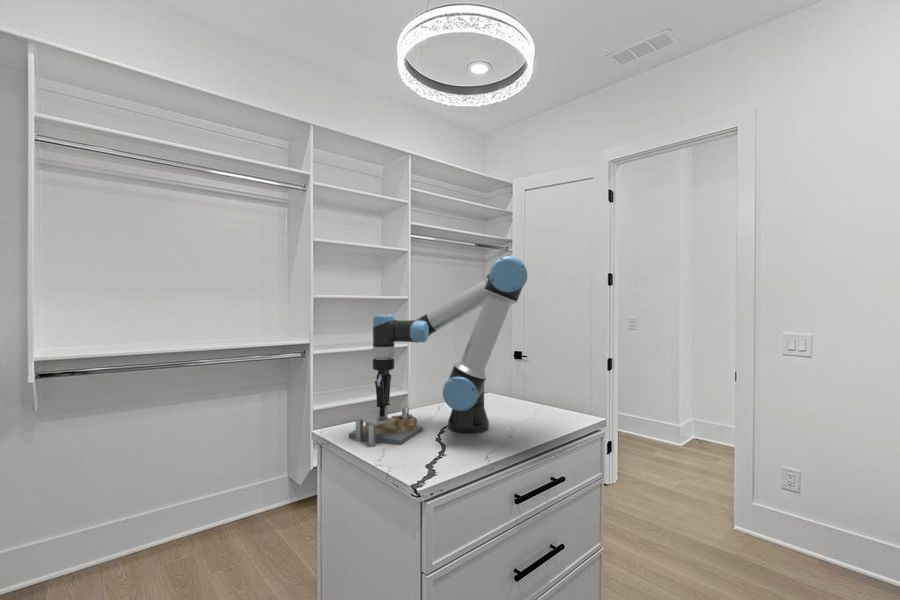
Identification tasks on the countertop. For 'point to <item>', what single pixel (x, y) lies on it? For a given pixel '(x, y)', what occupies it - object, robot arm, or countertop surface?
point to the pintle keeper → (374, 424)
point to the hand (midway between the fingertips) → (383, 424)
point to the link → (396, 425)
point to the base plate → (389, 436)
